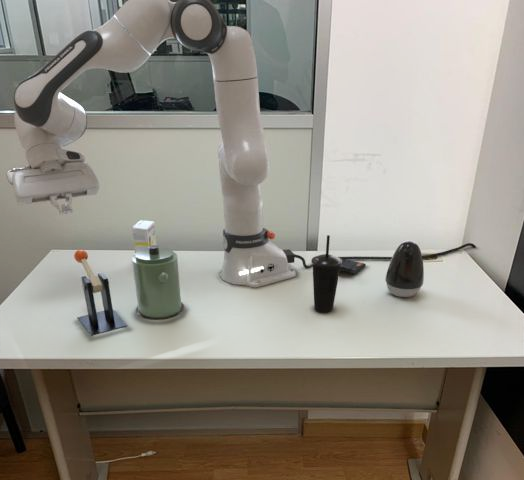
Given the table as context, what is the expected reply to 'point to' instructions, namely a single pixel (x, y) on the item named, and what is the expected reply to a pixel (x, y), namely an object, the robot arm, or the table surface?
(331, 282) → the drinking cup
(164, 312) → the green canister
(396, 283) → the black egg-shaped device
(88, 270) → the switch lever
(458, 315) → the table surface
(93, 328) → the switch bracket
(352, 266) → the calculator
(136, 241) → the ink box
